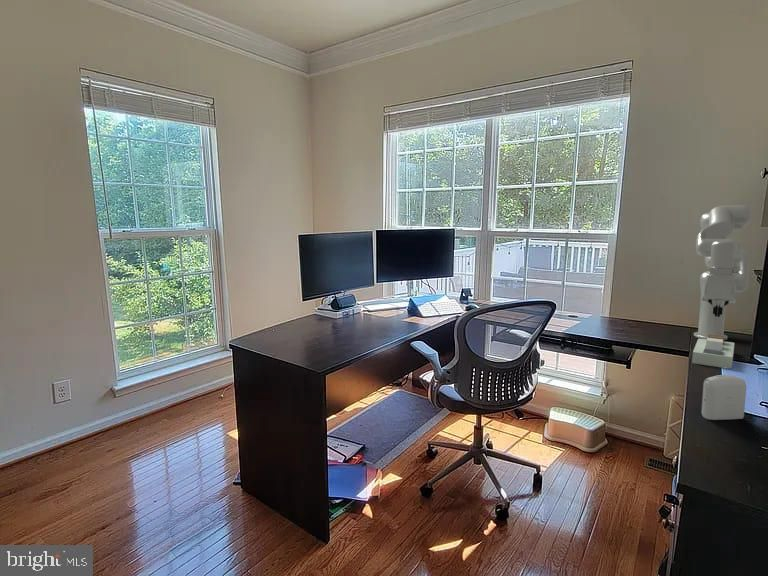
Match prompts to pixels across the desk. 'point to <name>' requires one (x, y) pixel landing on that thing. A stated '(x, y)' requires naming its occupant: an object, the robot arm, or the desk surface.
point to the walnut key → (716, 336)
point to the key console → (713, 355)
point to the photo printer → (723, 397)
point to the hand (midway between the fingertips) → (717, 316)
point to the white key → (714, 342)
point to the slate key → (713, 350)
